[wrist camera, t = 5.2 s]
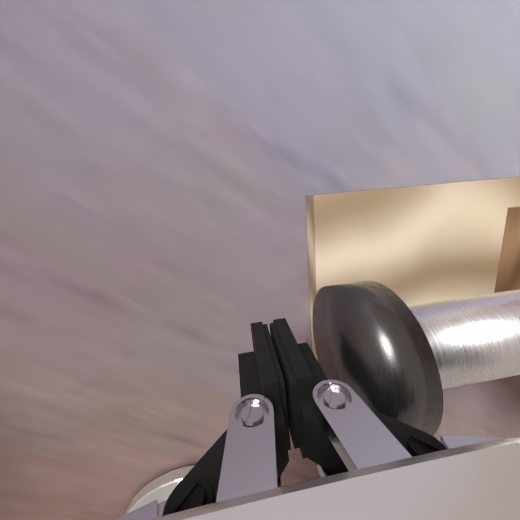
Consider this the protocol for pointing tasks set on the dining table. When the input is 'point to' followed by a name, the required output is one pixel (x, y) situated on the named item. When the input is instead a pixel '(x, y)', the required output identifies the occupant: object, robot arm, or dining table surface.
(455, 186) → the bearing block
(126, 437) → the dining table surface
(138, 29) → the dining table surface
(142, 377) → the dining table surface
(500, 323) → the shaft
